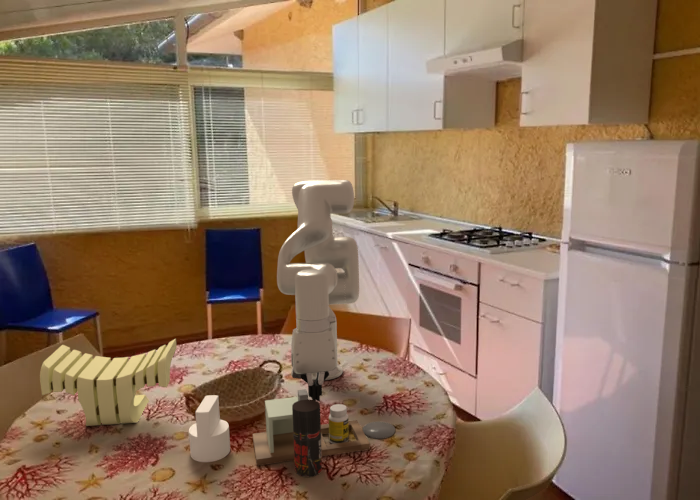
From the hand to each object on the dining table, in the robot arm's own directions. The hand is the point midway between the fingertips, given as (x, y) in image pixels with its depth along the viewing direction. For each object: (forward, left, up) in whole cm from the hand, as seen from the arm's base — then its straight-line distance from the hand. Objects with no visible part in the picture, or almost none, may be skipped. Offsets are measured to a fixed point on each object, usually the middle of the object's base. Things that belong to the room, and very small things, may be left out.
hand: (315, 398), depth 137 cm
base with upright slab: (-3, -25, -12) cm, 27 cm away
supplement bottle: (0, +5, -12) cm, 13 cm away
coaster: (-2, +16, -11) cm, 20 cm away
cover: (0, -6, -10) cm, 12 cm away
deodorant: (+11, -4, -12) cm, 16 cm away
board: (0, -2, -11) cm, 11 cm away
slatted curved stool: (-29, -49, -12) cm, 58 cm away
